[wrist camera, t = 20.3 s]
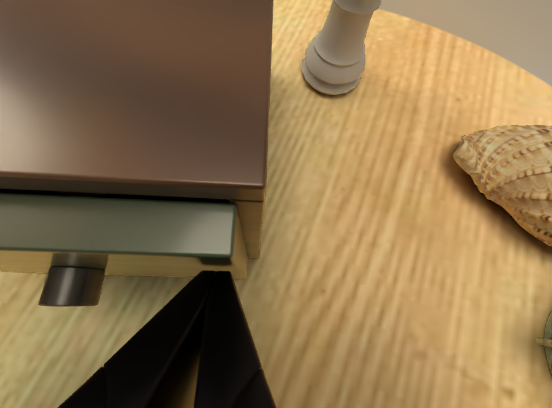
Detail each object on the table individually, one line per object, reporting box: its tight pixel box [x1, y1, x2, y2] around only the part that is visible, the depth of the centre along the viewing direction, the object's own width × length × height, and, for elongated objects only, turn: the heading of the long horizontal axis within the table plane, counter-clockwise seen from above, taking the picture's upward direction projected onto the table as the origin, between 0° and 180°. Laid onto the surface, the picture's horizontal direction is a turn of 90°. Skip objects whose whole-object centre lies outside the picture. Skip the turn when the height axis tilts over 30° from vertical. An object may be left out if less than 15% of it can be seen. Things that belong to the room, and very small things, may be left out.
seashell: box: [453, 125, 552, 247], centre depth 16 cm, size 8×6×10 cm
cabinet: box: [0, 0, 273, 258], centre depth 12 cm, size 14×13×11 cm
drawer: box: [0, 189, 248, 306], centre depth 11 cm, size 14×11×9 cm
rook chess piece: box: [302, 0, 381, 95], centre depth 16 cm, size 4×4×8 cm
